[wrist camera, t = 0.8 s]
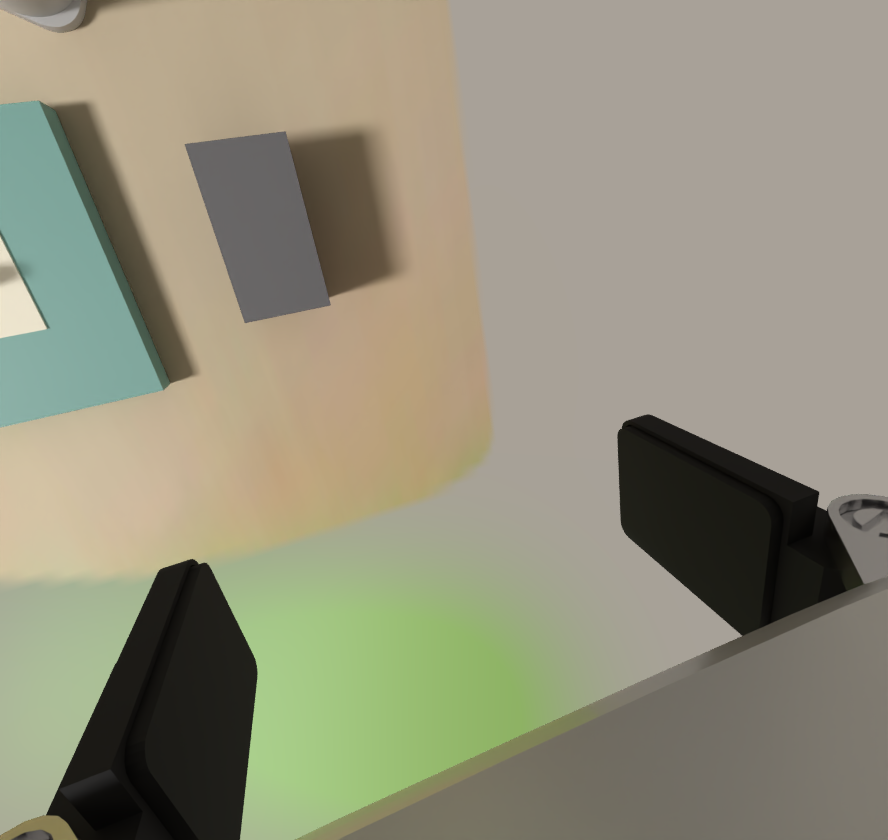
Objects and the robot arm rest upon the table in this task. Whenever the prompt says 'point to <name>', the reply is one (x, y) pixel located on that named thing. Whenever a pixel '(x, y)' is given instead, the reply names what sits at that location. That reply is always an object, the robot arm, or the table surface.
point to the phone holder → (48, 13)
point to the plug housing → (260, 224)
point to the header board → (61, 283)
